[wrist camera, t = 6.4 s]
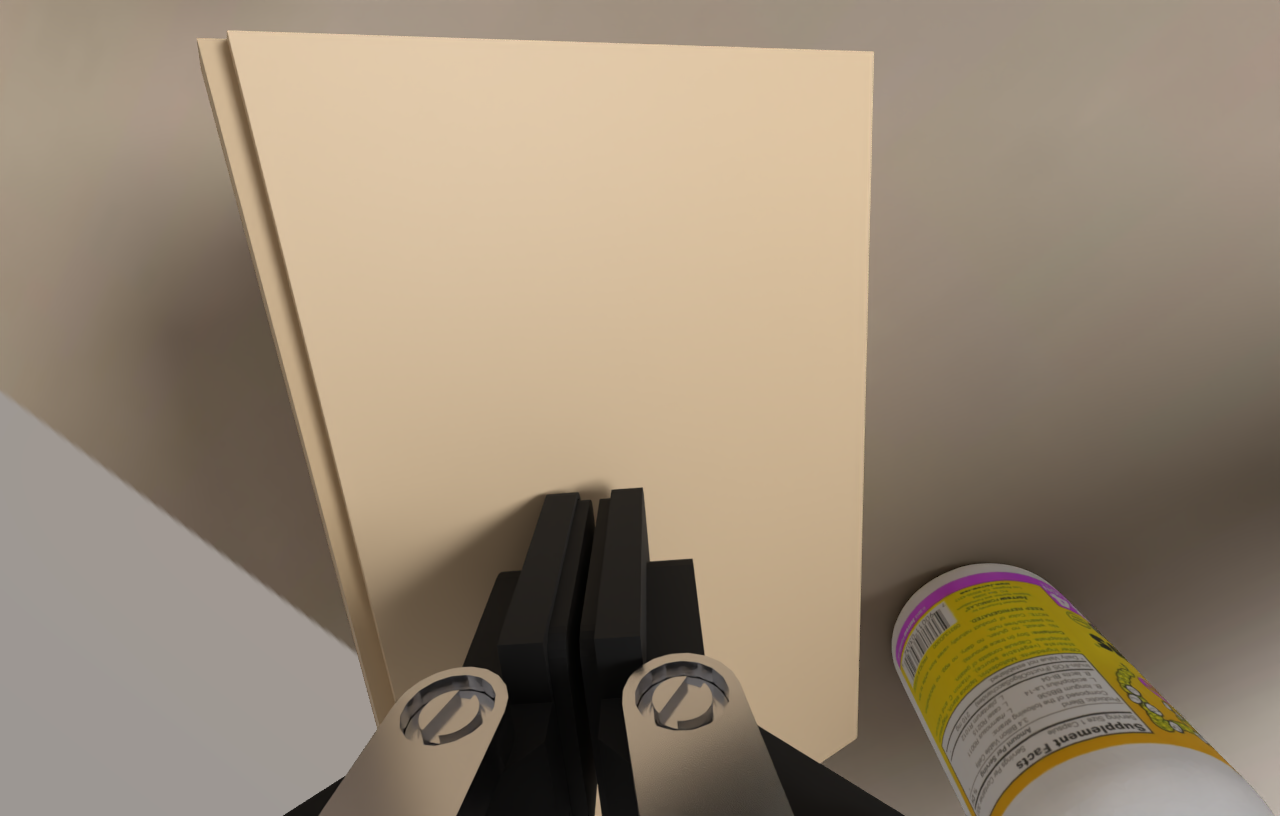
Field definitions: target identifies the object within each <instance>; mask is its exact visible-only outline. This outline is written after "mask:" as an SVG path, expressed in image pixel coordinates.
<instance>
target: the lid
mask: <svg viewBox="0 0 1280 816" xmlns="http://www.w3.org/2000/svg"><path fill="white" fill-rule="evenodd" d="M197 44H198V51H199V58H200V66H201V71H202V75H203V79H204V82H205V86H206V90H207V93H208V97H209V101H210V105H211V108H212V112H213V116H214V120H215V123H216V127H217V131H218V135H219V138H220V142H221V146H222V150H223V153H224V157H225V161H226V165H227V168H228V172H229V176H230V179H231V183H232V187H233V191H234V194H235V198H236V202H237V206H238V209H239V213H240V217H241V221H242V224H243V228H244V232H245V236H246V239H247V243H248V247H249V251H250V254H251V258H252V262H253V265H254V269H255V273H256V277H257V280H258V284H259V288H260V292H261V295H262V299H263V303H264V307H265V310H266V314H267V318H268V322H269V325H270V329H271V333H272V337H273V340H274V344H275V348H276V351H277V355H278V359H279V363H280V366H281V370H282V374H283V378H284V381H285V385H286V389H287V393H288V396H289V400H290V404H291V408H292V411H293V415H294V419H295V423H296V426H297V430H298V434H299V437H300V441H301V445H302V449H303V452H304V456H305V460H306V464H307V467H308V471H309V475H310V479H311V482H312V486H313V490H314V494H315V497H316V501H317V505H318V509H319V512H320V516H321V520H322V523H323V527H324V531H325V535H326V538H327V542H328V546H329V550H330V553H331V557H332V561H333V565H334V568H335V572H336V576H337V580H338V583H339V587H340V591H341V595H342V598H343V602H344V606H345V609H346V613H347V617H348V621H349V624H350V628H351V632H352V636H353V639H354V643H355V647H356V651H357V654H358V658H359V662H360V666H361V669H362V673H363V677H364V681H365V684H366V688H367V692H368V695H369V699H370V703H371V707H372V710H373V714H374V718H375V722H376V725H377V729H378V727H379V726H380V724H381V723H382V721H383V720H384V719H385V717H386V716H387V714H388V713H389V711H390V710H391V708H392V707H393V705H394V704H395V703H396V702H397V701H398V700H399V698H400V697H401V696H402V695H403V694H404V693H405V692H406V691H407V690H408V689H410V688H411V687H413V686H414V685H415V684H417V683H418V682H419V681H421V680H423V679H425V678H427V677H429V676H431V675H434V674H436V673H438V672H442V671H445V670H449V669H453V668H460V667H462V666H463V664H464V661H465V658H466V656H467V653H468V651H469V648H470V645H471V643H472V640H473V638H474V635H475V632H476V630H477V627H478V625H479V622H480V619H481V617H482V614H483V612H484V609H485V606H486V604H487V601H488V599H489V596H490V593H491V591H492V588H493V586H494V583H495V580H496V578H497V576H498V574H499V573H500V572H505V571H520V570H522V567H523V564H524V561H525V558H526V555H527V552H528V549H529V546H530V543H531V540H532V536H533V533H534V530H535V527H536V524H537V521H538V518H539V515H540V512H541V509H542V506H543V503H544V500H545V497H546V495H547V494H560V493H573V492H579V494H580V498H581V500H591V501H592V505H593V512H594V520H595V526H596V519H597V513H598V506H599V500H600V499H604V498H610V497H611V490H614V489H627V488H641V487H643V492H644V501H645V512H646V523H647V534H648V545H649V555H650V561H663V560H678V559H693V565H694V573H695V581H696V589H697V597H698V605H699V613H700V621H701V629H702V637H703V645H704V653H705V656H707V657H710V658H712V659H715V660H717V661H720V662H721V663H723V664H724V665H725V666H726V667H728V668H729V669H730V670H732V671H733V673H734V674H735V676H736V677H737V679H738V680H739V682H740V684H741V686H742V689H743V691H744V693H745V696H746V698H747V701H748V703H749V706H750V708H751V711H752V713H753V716H754V718H755V721H756V723H757V725H758V726H760V727H761V728H763V729H765V730H766V731H768V732H770V733H771V734H773V735H774V736H776V737H778V738H779V739H781V740H783V741H784V742H786V743H787V744H789V745H791V746H792V747H794V748H796V749H797V750H799V751H800V752H802V753H804V754H805V755H807V756H809V757H810V758H812V759H813V760H815V761H817V762H818V763H822V762H823V761H824V760H826V759H827V758H829V757H830V756H832V755H833V754H835V753H836V752H838V751H839V750H841V749H842V748H843V747H845V746H846V745H848V744H849V743H851V742H852V741H854V740H855V739H857V727H858V686H859V645H860V604H861V562H862V521H863V480H864V439H865V398H866V357H867V316H868V275H869V234H870V193H871V152H872V111H873V70H874V52H869V51H839V50H808V49H778V48H747V47H717V46H686V45H655V44H625V43H594V42H564V41H533V40H503V39H472V38H441V37H411V36H380V35H350V34H319V33H289V32H258V31H228V30H227V39H212V38H197ZM595 816H602V813H601V806H600V799H599V791H598V784H597V795H596V807H595Z"/></svg>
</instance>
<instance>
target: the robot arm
mask: <svg viewBox="0 0 1280 816" xmlns="http://www.w3.org/2000/svg"><path fill="white" fill-rule="evenodd" d="M597 784H598V791H599V799H600V806H601V813H602V816H904V815H903V814H901V813H900V812H898V811H896V810H895V809H893V808H891V807H890V806H888V805H887V804H885V803H883V802H882V801H880V800H878V799H877V798H875V797H874V796H872V795H870V794H869V793H867V792H865V791H864V790H862V789H861V788H859V787H857V786H856V785H854V784H852V783H851V782H849V781H848V780H846V779H844V778H843V777H841V776H839V775H838V774H836V773H835V772H833V771H831V770H830V769H828V768H826V767H825V766H823V765H822V764H820V763H818V762H817V761H815V760H813V759H812V758H810V757H809V756H807V755H805V754H804V753H802V752H800V751H799V750H797V749H796V748H794V747H792V746H791V745H789V744H787V743H786V742H784V741H783V740H781V739H779V738H778V737H776V736H774V735H773V734H771V733H770V732H768V731H766V730H765V729H763V728H761V727H760V726H758V725H757V723H756V721H755V718H754V716H753V713H752V711H751V708H750V706H749V703H748V701H747V698H746V696H745V693H744V691H743V689H742V686H741V684H740V682H739V680H738V679H737V677H736V676H735V674H734V673H733V671H732V670H730V669H729V668H728V667H726V666H725V665H724V664H723V663H721V662H720V661H717V660H715V659H712V658H710V657H707V656H705V653H704V645H703V637H702V629H701V621H700V613H699V605H698V597H697V589H696V581H695V573H694V565H693V559H678V560H663V561H650V555H649V545H648V534H647V523H646V512H645V501H644V492H643V487H641V488H627V489H614V490H611V497H610V498H604V499H600V500H599V506H598V513H597V519H596V526H595V520H594V512H593V505H592V501H591V500H581V498H580V494H579V492H573V493H560V494H547V495H546V497H545V500H544V503H543V506H542V509H541V512H540V515H539V518H538V521H537V524H536V527H535V530H534V533H533V536H532V540H531V543H530V546H529V549H528V552H527V555H526V558H525V561H524V564H523V567H522V570H520V571H505V572H500V573H499V574H498V576H497V578H496V580H495V583H494V586H493V588H492V591H491V593H490V596H489V599H488V601H487V604H486V606H485V609H484V612H483V614H482V617H481V619H480V622H479V625H478V627H477V630H476V632H475V635H474V638H473V640H472V643H471V645H470V648H469V651H468V653H467V656H466V658H465V661H464V664H463V666H462V667H460V668H453V669H449V670H445V671H442V672H438V673H436V674H434V675H431V676H429V677H427V678H425V679H423V680H421V681H419V682H418V683H417V684H415V685H414V686H413V687H411V688H410V689H408V690H407V691H406V692H405V693H404V694H403V695H402V696H401V697H400V698H399V700H398V701H397V702H396V703H395V704H394V705H393V707H392V708H391V710H390V711H389V713H388V714H387V716H386V717H385V719H384V720H383V721H382V723H381V724H380V726H379V727H378V729H377V730H376V732H375V733H374V735H373V736H372V738H371V739H370V741H369V743H368V744H367V745H366V747H365V748H364V749H363V751H362V752H361V754H360V755H359V757H358V759H357V760H356V761H355V763H354V764H353V766H352V767H351V769H350V770H349V772H348V773H347V775H346V776H344V777H343V778H341V779H340V780H338V781H336V782H335V783H333V784H332V785H330V786H329V787H327V788H326V789H324V790H322V791H321V792H319V793H318V794H316V795H315V796H313V797H312V798H310V799H308V800H307V801H306V802H304V803H302V804H301V805H299V806H297V807H296V808H294V809H293V810H291V811H290V812H288V813H286V814H285V815H283V816H595V807H596V795H597Z"/></svg>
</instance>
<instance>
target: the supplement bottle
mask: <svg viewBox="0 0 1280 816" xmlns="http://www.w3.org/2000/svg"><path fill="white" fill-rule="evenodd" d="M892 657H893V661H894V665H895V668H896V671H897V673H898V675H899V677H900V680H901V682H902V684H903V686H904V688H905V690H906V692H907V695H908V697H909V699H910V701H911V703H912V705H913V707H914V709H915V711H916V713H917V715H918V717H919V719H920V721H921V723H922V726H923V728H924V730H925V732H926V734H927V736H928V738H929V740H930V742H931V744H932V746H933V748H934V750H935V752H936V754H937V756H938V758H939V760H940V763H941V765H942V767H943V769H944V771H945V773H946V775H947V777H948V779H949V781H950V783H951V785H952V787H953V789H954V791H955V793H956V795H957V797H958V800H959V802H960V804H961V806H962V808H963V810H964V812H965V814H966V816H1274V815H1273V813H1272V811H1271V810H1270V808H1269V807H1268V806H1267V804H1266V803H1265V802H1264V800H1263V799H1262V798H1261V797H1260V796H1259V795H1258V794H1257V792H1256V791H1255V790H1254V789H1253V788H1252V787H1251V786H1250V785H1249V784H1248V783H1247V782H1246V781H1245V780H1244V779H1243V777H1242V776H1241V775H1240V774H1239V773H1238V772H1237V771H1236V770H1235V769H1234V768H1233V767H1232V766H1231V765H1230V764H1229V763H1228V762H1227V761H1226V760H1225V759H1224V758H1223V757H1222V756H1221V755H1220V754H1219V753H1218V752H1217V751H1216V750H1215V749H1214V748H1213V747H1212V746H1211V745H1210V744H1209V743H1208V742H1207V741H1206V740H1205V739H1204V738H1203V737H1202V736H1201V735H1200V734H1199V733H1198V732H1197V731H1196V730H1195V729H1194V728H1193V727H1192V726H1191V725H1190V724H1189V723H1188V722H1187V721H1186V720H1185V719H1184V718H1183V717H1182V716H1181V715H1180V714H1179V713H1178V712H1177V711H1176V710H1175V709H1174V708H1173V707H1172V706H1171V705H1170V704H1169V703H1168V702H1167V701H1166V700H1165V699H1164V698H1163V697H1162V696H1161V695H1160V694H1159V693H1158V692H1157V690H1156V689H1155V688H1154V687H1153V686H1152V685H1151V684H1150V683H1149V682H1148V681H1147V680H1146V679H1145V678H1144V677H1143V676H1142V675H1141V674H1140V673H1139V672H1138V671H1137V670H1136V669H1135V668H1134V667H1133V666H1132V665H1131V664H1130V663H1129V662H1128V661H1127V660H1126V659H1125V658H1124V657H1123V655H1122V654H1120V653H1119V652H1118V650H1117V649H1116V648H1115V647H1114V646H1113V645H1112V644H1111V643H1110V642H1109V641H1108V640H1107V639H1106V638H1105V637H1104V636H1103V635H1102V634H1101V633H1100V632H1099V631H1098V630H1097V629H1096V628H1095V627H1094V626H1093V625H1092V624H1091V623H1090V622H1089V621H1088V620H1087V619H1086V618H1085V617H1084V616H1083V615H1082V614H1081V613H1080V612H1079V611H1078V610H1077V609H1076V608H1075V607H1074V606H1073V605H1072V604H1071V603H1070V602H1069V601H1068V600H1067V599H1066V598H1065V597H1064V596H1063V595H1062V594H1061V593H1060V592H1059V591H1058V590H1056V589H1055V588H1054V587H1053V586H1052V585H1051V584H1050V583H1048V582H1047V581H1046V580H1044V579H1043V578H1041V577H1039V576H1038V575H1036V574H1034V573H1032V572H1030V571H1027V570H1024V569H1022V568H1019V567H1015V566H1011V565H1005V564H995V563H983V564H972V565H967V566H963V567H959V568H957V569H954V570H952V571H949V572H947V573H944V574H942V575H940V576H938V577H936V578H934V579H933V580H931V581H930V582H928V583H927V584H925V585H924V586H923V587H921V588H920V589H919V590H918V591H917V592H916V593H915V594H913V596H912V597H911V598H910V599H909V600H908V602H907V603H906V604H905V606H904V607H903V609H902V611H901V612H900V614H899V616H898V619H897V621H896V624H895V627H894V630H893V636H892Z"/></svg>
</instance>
